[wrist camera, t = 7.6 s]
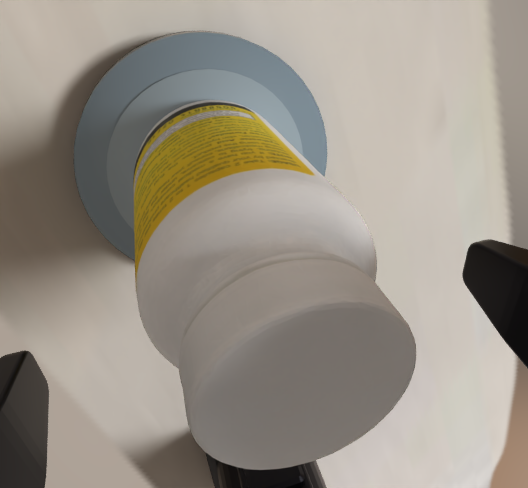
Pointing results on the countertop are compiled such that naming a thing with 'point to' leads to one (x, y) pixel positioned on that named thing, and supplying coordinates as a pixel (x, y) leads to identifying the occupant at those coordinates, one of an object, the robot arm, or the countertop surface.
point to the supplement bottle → (261, 291)
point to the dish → (171, 98)
